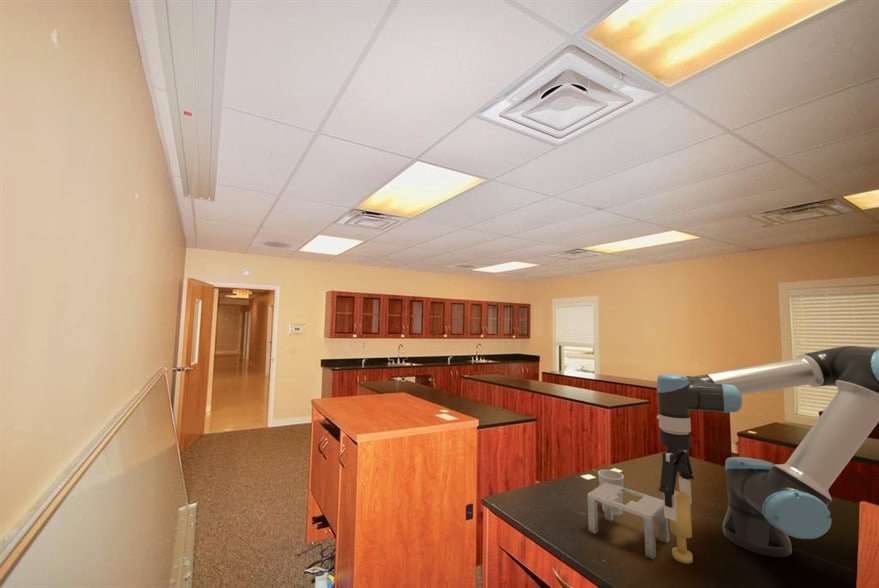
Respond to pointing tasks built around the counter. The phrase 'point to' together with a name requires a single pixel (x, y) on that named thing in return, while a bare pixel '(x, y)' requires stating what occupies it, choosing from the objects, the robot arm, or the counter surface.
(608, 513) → the shelf
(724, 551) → the counter surface
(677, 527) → the yellow tall stemmed piece
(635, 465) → the counter surface
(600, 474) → the cup
